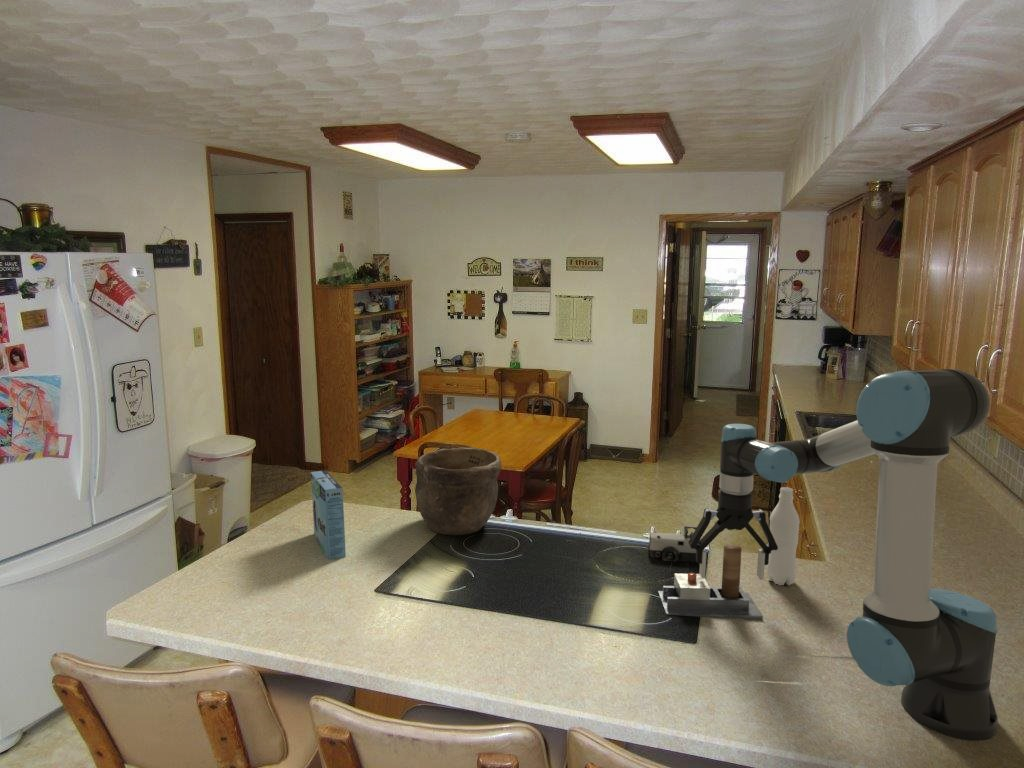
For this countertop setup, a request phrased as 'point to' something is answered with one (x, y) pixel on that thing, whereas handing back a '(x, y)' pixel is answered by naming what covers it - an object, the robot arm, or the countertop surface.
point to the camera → (672, 546)
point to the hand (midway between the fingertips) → (731, 576)
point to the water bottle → (784, 539)
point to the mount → (710, 605)
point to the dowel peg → (731, 571)
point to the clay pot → (457, 489)
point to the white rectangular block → (691, 586)
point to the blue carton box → (328, 514)
